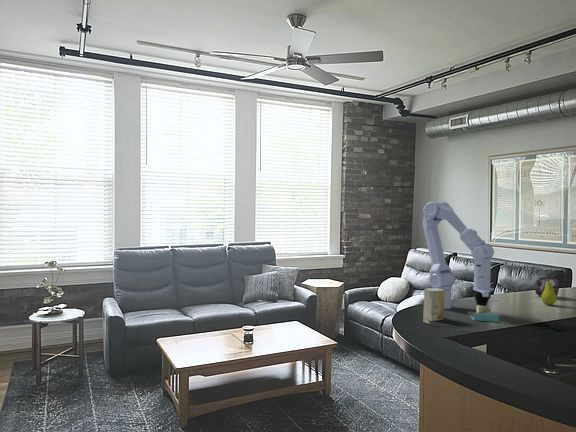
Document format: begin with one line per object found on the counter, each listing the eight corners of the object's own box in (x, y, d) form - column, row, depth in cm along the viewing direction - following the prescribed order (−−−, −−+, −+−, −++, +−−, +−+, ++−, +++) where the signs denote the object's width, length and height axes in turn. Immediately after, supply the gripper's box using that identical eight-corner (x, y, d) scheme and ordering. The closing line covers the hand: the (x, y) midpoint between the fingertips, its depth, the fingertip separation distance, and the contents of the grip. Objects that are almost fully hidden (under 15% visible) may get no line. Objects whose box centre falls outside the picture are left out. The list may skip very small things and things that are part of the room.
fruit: (559, 306, 197) (560, 278, 197) (545, 306, 197) (546, 278, 197) (551, 303, 203) (552, 276, 203) (538, 303, 203) (539, 276, 203)
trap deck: (466, 315, 179) (467, 305, 179) (489, 316, 178) (490, 306, 177) (473, 324, 165) (473, 313, 165) (498, 326, 164) (499, 315, 164)
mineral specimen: (532, 294, 215) (534, 273, 218) (536, 299, 223) (537, 279, 226) (557, 296, 209) (557, 275, 212) (559, 301, 217) (560, 281, 220)
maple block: (478, 318, 169) (478, 307, 169) (476, 315, 173) (476, 304, 172) (490, 318, 168) (490, 308, 168) (487, 316, 172) (488, 305, 172)
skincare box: (431, 325, 164) (432, 291, 163) (422, 322, 168) (423, 288, 167) (444, 323, 167) (445, 289, 166) (435, 320, 171) (436, 287, 170)
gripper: (498, 279, 165) (497, 317, 165) (489, 274, 179) (488, 308, 180) (477, 279, 167) (476, 316, 167) (470, 273, 181) (469, 307, 181)
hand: (481, 312), depth 173 cm, fingers closed
